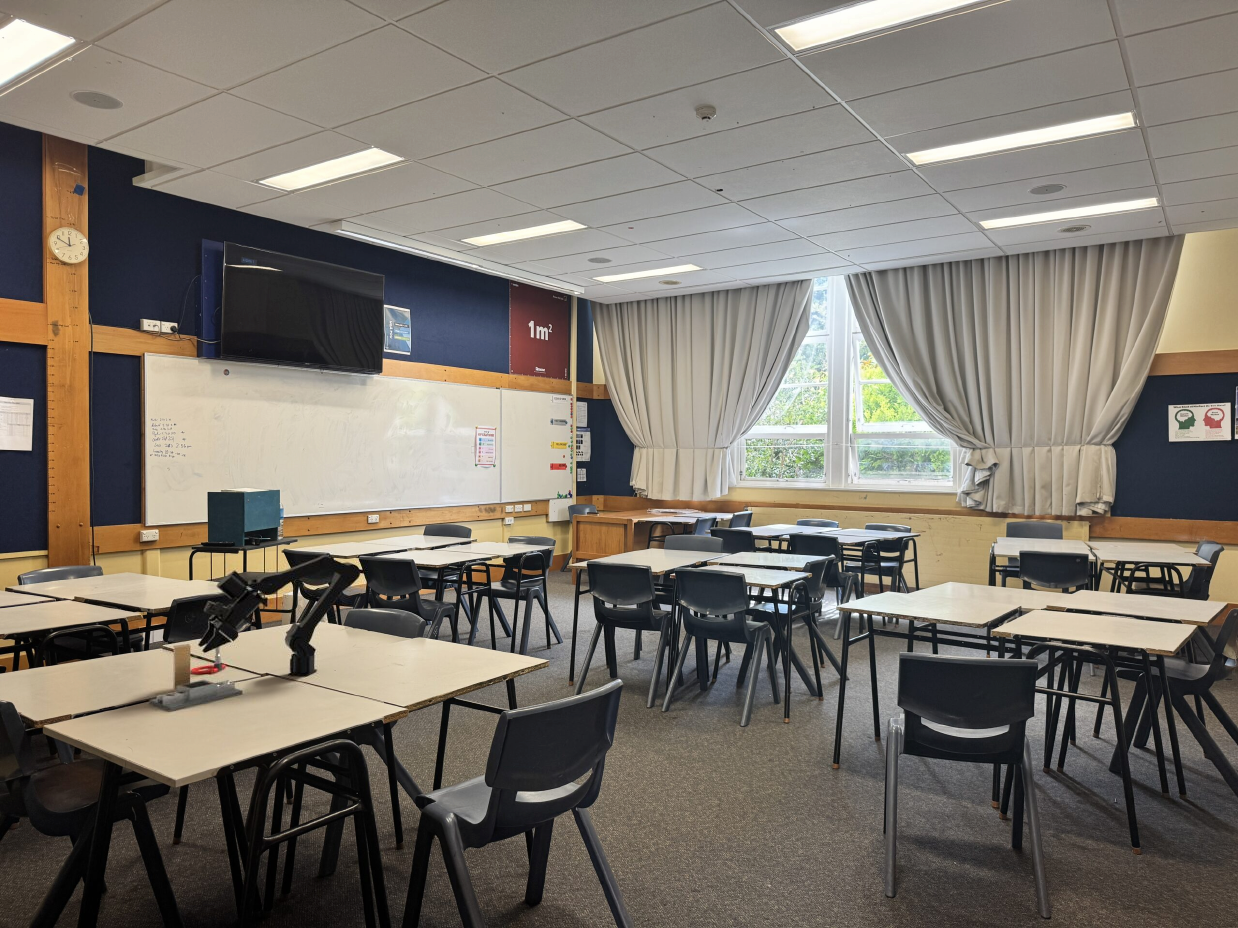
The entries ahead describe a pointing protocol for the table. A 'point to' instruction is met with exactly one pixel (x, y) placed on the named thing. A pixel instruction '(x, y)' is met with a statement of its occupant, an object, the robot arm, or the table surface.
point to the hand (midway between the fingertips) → (201, 648)
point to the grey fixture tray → (195, 694)
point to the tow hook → (215, 667)
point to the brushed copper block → (181, 665)
